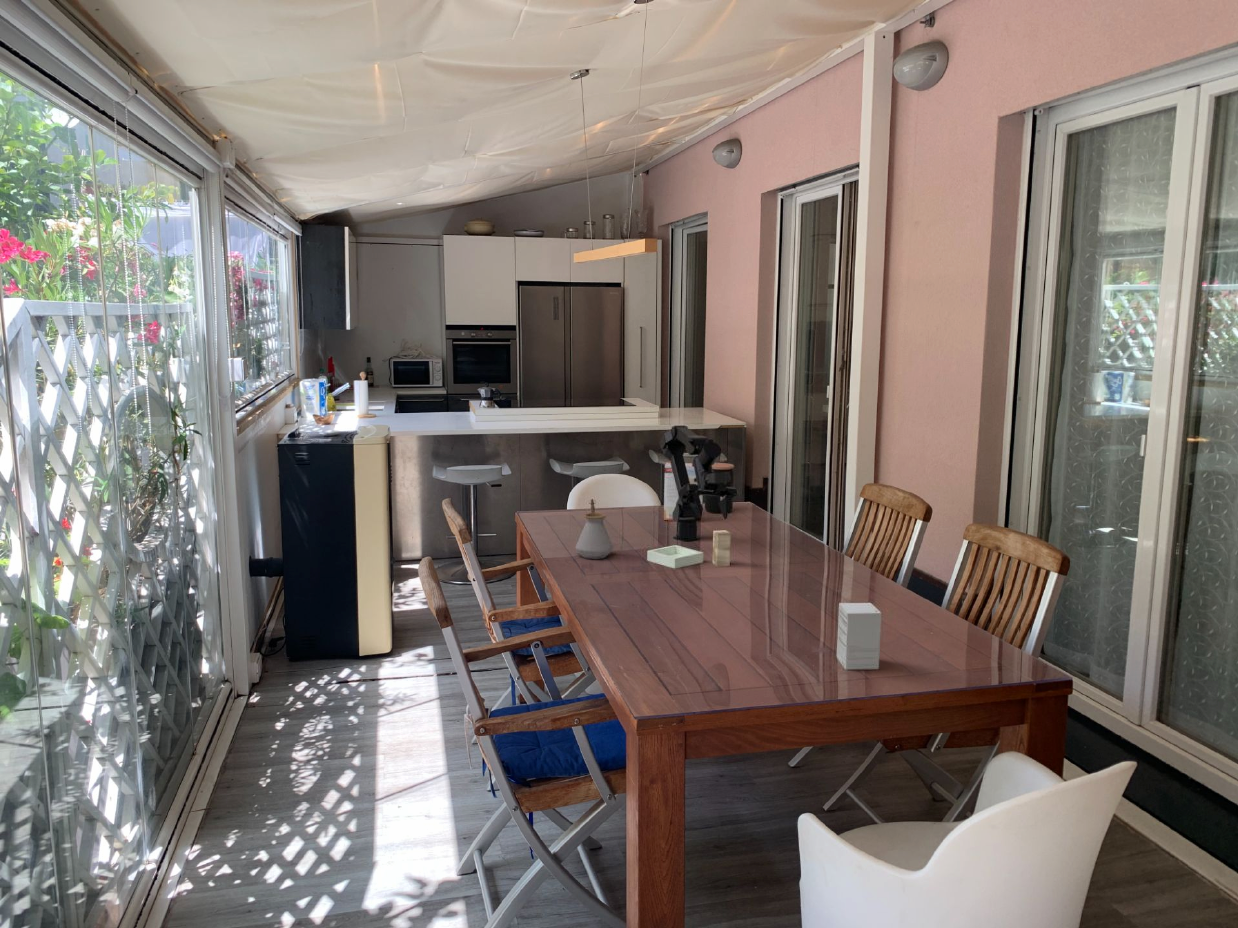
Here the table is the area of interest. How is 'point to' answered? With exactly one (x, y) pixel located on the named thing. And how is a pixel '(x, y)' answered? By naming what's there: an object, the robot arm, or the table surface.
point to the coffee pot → (594, 536)
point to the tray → (675, 556)
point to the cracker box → (675, 489)
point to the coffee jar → (713, 501)
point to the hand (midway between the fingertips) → (713, 517)
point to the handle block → (721, 548)
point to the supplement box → (858, 636)
